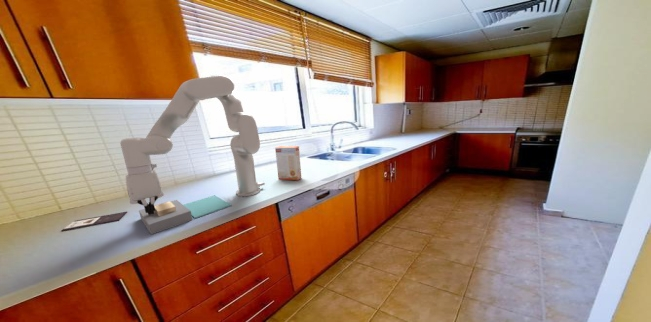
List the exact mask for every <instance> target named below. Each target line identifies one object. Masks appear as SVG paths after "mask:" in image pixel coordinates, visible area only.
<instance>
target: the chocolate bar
mask: <svg viewBox="0 0 651 322" xmlns="http://www.w3.org/2000/svg"><path fill="white" fill-rule="evenodd" d="M127 213H128V211H123V212H115V213H111V214H106V215H101V216H94V217H88V218H84V219H77V220H74V221H72V222H71V223H70V224H68V225H66V226H65V227H64V228H62V229H61V232H66V231H73V230H79V229H82V228H87V227H93V226H99V225H103V224H109V223H114V222H120V221H121V220H122V218H124V217H125V216H126V215H127Z"/></svg>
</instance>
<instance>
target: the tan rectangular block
mask: <svg viewBox="0 0 651 322" xmlns="http://www.w3.org/2000/svg"><path fill="white" fill-rule="evenodd" d="M154 207H155V212H156V213H157V214H158V216H161V215H165V214H168V213H171V212H174V211H176V207H175V206H174V205H173V204H172V203H171V202H170V201H166V202H162V203H159V204H154Z"/></svg>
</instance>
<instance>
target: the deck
mask: <svg viewBox="0 0 651 322" xmlns="http://www.w3.org/2000/svg"><path fill="white" fill-rule="evenodd" d="M170 202H171V203H172V204H173V205H174V206H175V207H176V211H174V212H171V213H168V214H165V215H161V216H158V214H157V213H156V212H155V211H154V214H152V213H151V215H149V214H148V213H146V212H145V208H143V209H139V210H138V213H139V215H140V220H141V221H142V223H143V224H144V226H145V227H146V229H147V231H148V233H150V235H154V234H156V232H157V233H159V231H160V232H162V231H165V230H167V229H170V227H171V228H173V226H174V227H176V226H179V225H181V224H184V223H188V222H190V221H193V217H192V215H191V211H190V210H189V209H188V208H186V207H185V206H184V204H183V203H181V201H179V200H178V199H173V200H171V201H170Z"/></svg>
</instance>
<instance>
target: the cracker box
mask: <svg viewBox="0 0 651 322" xmlns="http://www.w3.org/2000/svg"><path fill="white" fill-rule="evenodd" d="M274 149H275V159H276V168H277V179H278V180H282V181H283V180H284V181H285V180H288V181H299V180H300V179H302V168H301V156H300V146H296V145H295V146H293V145H282V146H281V145H279V146H276V147H275V148H274Z"/></svg>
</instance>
